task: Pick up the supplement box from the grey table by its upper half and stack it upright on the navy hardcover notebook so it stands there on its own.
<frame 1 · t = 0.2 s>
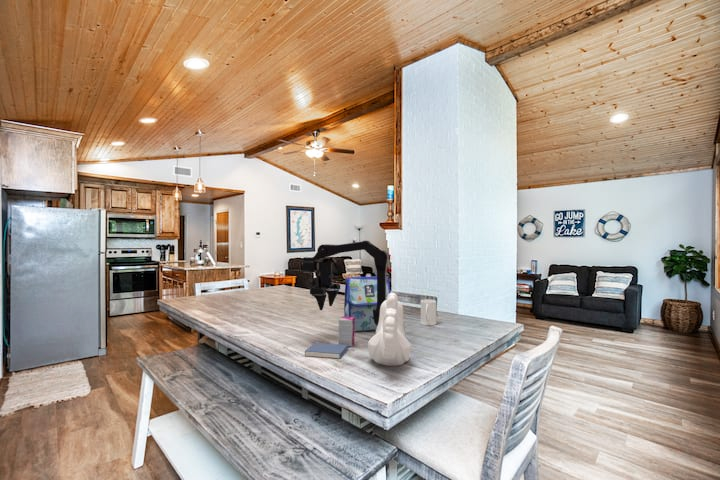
hand: (326, 308, 153), 14 cm above the table, fingers open, 9 cm apart
notebook: (326, 352, 136), on the table
lunch bag: (367, 329, 173), on the table
supplement box: (346, 345, 145), on the table
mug: (427, 324, 182), on the table
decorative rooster: (387, 365, 122), on the table
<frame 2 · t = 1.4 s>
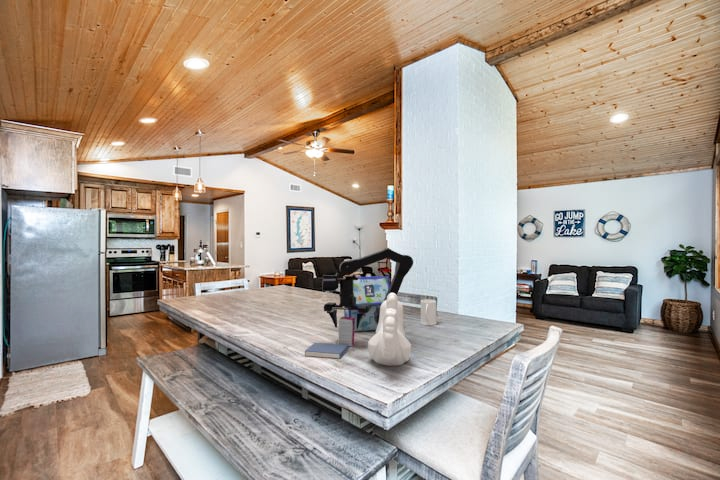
hand: (346, 328, 145), 7 cm above the table, fingers open, 9 cm apart
nothing on the table moved.
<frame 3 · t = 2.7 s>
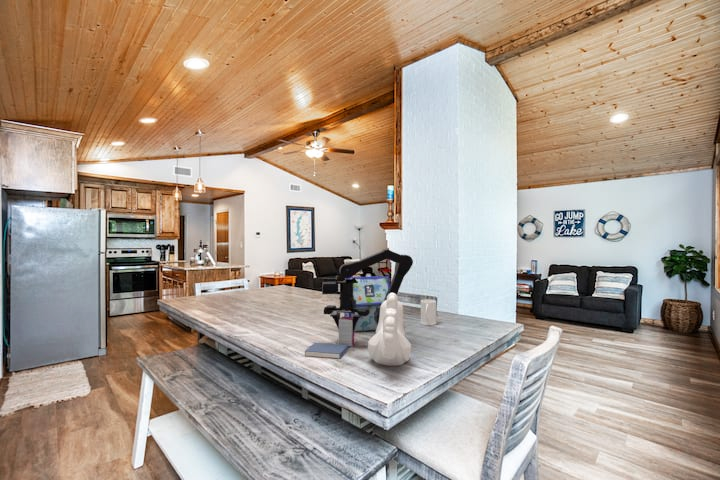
hand: (346, 331, 145), 6 cm above the table, fingers closed on supplement box, 6 cm apart
supplement box: (346, 345, 145), on the table, touching gripper
everything else where it was.
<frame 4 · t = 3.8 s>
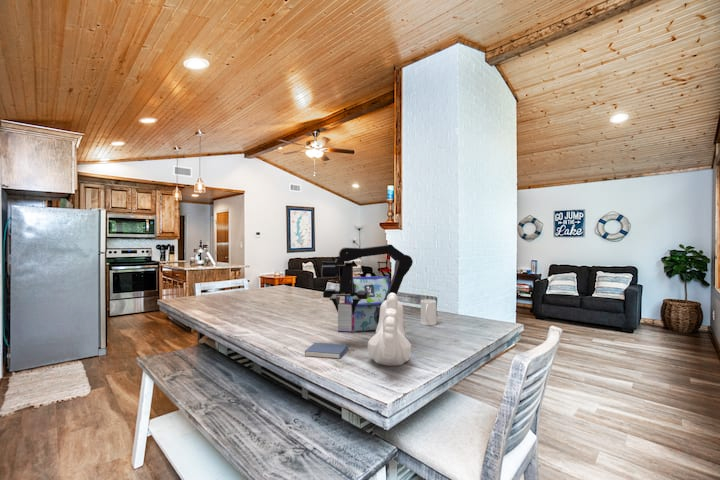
hand: (346, 314, 145), 13 cm above the table, fingers closed on supplement box, 6 cm apart
supplement box: (346, 331, 145), point 6 cm above the table, touching gripper
everything else where it was.
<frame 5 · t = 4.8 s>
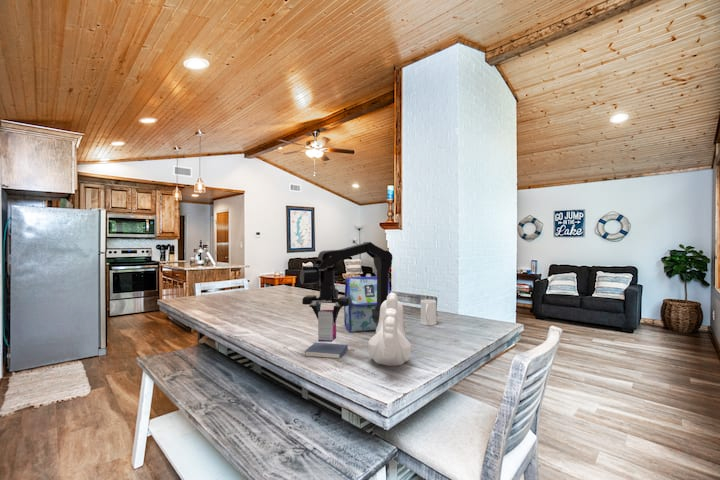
hand: (327, 322, 136), 12 cm above the table, fingers closed on supplement box, 6 cm apart
supplement box: (327, 340, 135), point 5 cm above the table, touching gripper
everything else where it was.
when the fingers open (9 cm above the table, at t = 6.1 s): supplement box stays where it is, resting on notebook.
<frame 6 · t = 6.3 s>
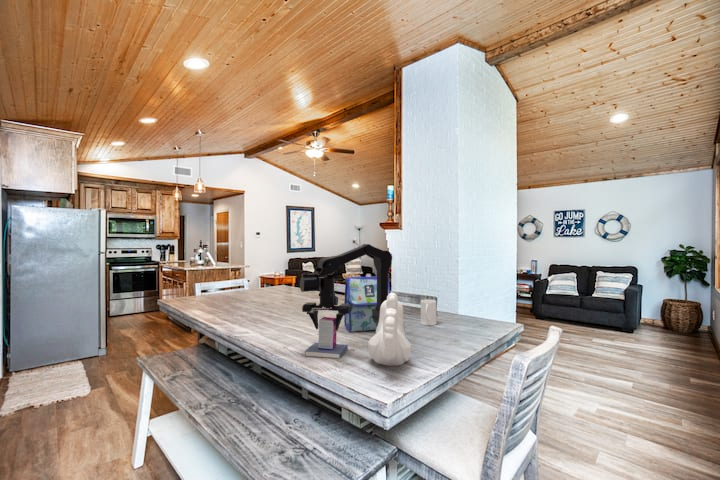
hand: (327, 329, 136), 9 cm above the table, fingers open, 8 cm apart
supplement box: (327, 348, 135), point 2 cm above the table, touching notebook
everything else where it was.
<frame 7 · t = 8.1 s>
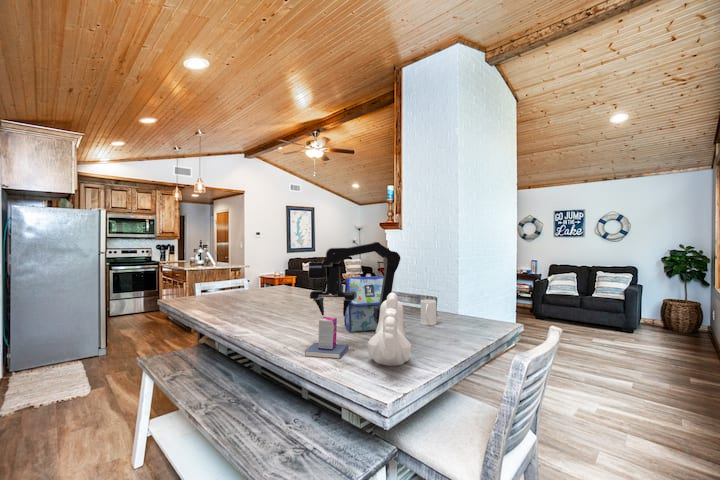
hand: (333, 315, 144), 13 cm above the table, fingers open, 9 cm apart
nothing on the table moved.
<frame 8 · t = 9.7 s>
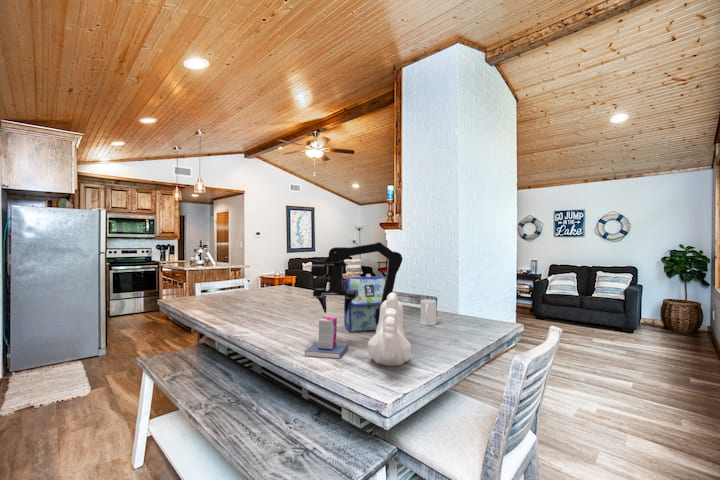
hand: (335, 313, 147), 13 cm above the table, fingers open, 9 cm apart
nothing on the table moved.
at the end: supplement box inside the target area on the notebook (0.3 cm from its centre), point 1.8 cm above the notebook's base; supplement box tilted 0°; the gripper is holding nothing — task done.
